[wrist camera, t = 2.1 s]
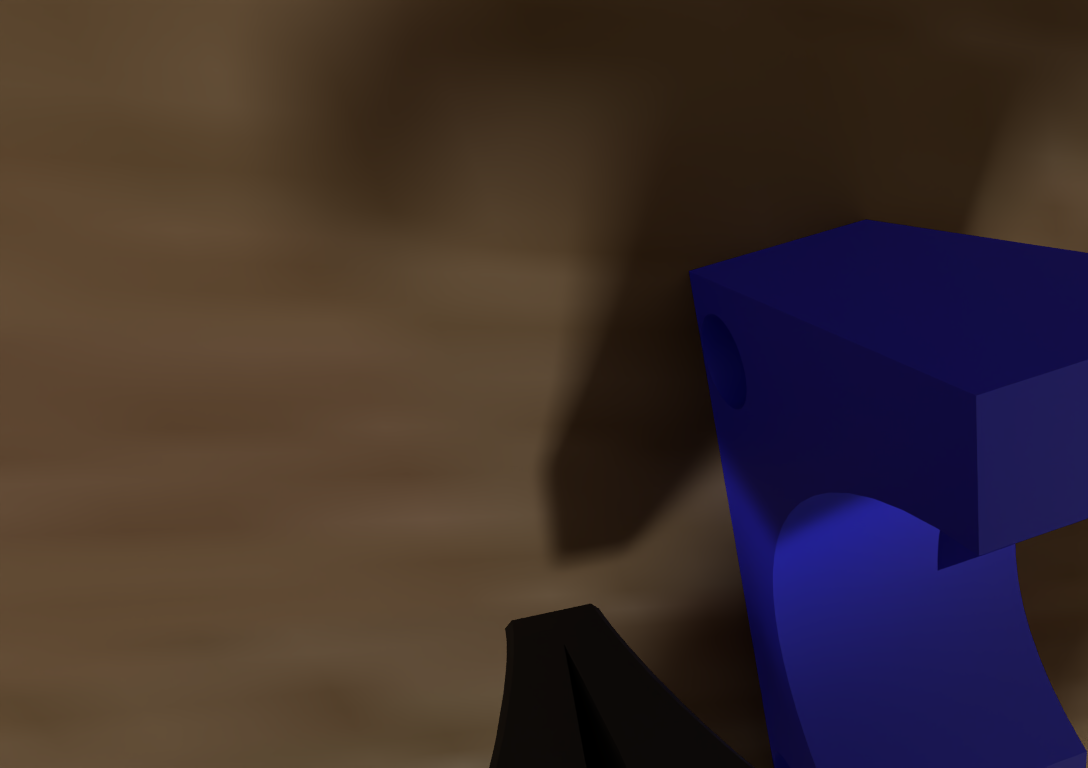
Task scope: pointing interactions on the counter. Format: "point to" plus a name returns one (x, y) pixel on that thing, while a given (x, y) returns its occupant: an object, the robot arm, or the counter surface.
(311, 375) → the counter surface
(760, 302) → the cable clip
